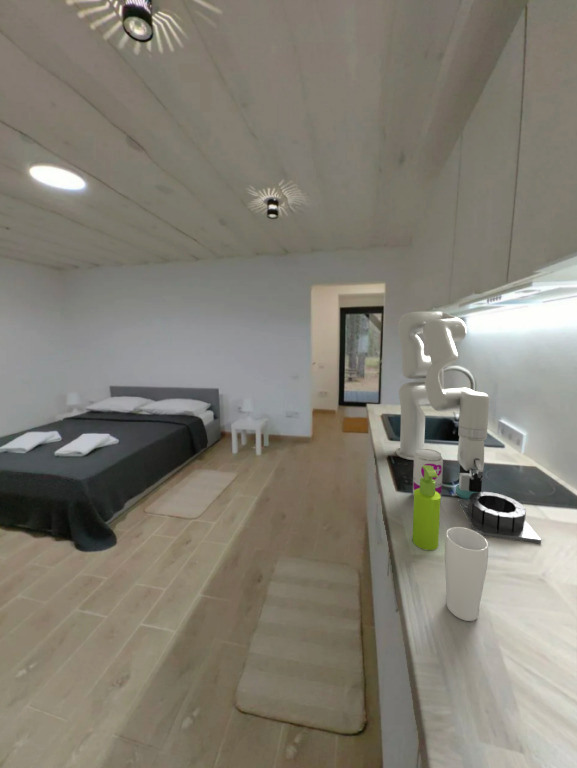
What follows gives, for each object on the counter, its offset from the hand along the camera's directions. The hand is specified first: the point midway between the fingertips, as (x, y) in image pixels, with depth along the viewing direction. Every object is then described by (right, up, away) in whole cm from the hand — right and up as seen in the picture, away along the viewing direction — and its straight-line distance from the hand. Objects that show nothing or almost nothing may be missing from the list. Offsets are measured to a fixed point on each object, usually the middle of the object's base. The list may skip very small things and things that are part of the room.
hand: (469, 483), depth 95 cm
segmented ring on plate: (0, -6, -12) cm, 14 cm away
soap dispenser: (-23, -8, -20) cm, 32 cm away
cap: (0, -4, +1) cm, 4 cm away
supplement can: (-14, -5, 0) cm, 14 cm away
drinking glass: (-25, -11, -38) cm, 47 cm away
